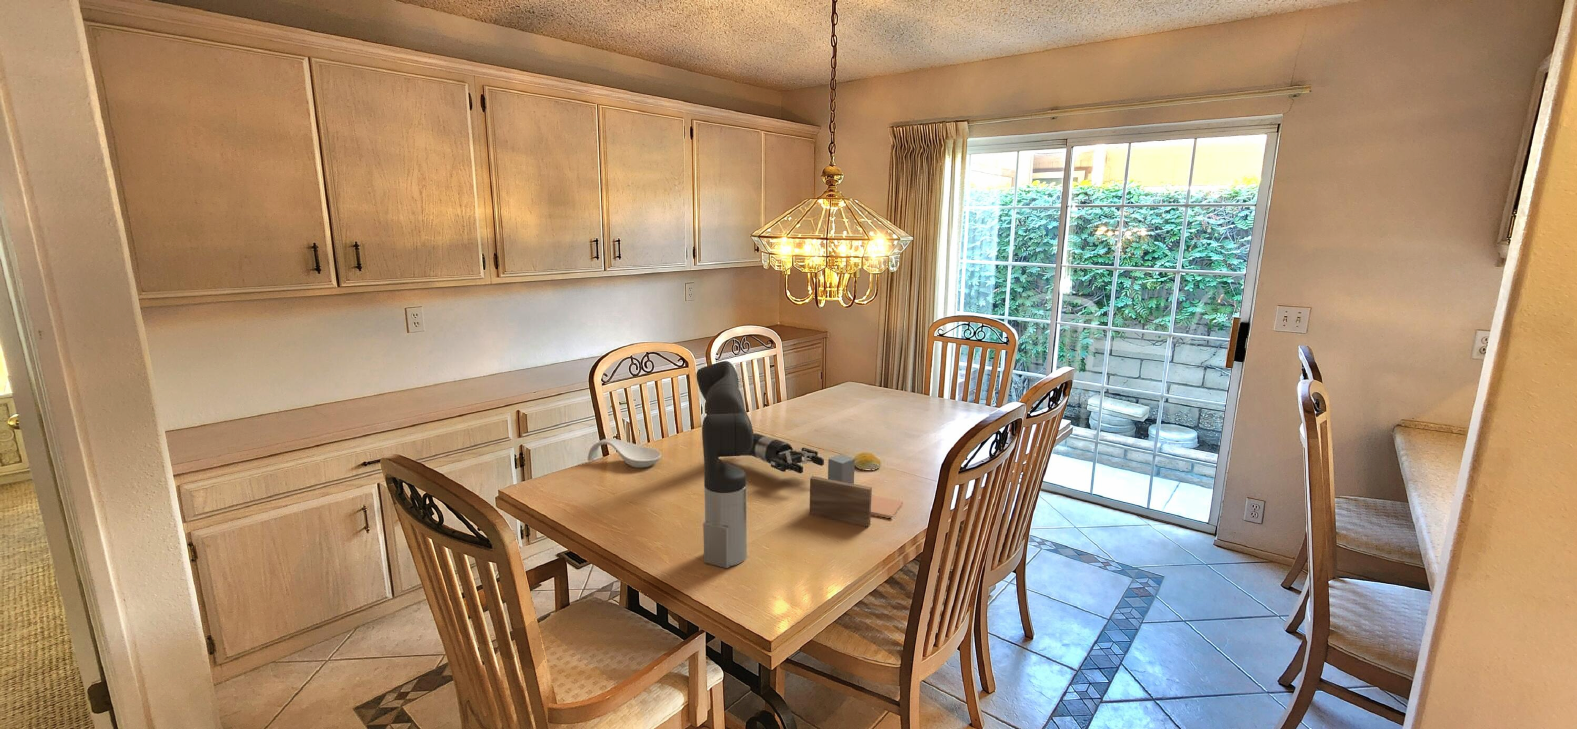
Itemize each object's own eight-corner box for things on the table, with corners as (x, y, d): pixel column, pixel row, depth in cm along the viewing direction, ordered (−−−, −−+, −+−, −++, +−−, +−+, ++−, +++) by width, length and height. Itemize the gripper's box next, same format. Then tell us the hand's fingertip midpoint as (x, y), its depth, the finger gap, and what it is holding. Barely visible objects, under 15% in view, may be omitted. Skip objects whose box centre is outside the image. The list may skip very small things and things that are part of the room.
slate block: (853, 500, 175) (855, 459, 172) (841, 506, 171) (843, 463, 169) (839, 495, 178) (840, 454, 176) (827, 500, 175) (828, 458, 172)
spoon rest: (667, 460, 204) (666, 438, 203) (651, 474, 193) (650, 451, 191) (600, 453, 210) (599, 432, 208) (580, 466, 198) (579, 444, 197)
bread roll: (873, 460, 206) (873, 448, 205) (883, 470, 197) (884, 458, 196) (848, 462, 204) (849, 450, 203) (858, 472, 195) (858, 460, 195)
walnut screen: (868, 527, 160) (869, 489, 157) (809, 514, 166) (810, 478, 164) (870, 524, 161) (871, 487, 159) (811, 512, 168) (812, 476, 166)
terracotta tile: (891, 519, 164) (892, 515, 164) (854, 511, 168) (854, 508, 168) (902, 504, 173) (902, 501, 172) (867, 497, 177) (867, 494, 177)
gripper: (755, 445, 186) (795, 459, 175) (790, 434, 196) (830, 447, 185) (755, 469, 188) (794, 485, 177) (790, 457, 198) (829, 472, 186)
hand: (812, 466), depth 181 cm, fingers open, 8 cm apart
